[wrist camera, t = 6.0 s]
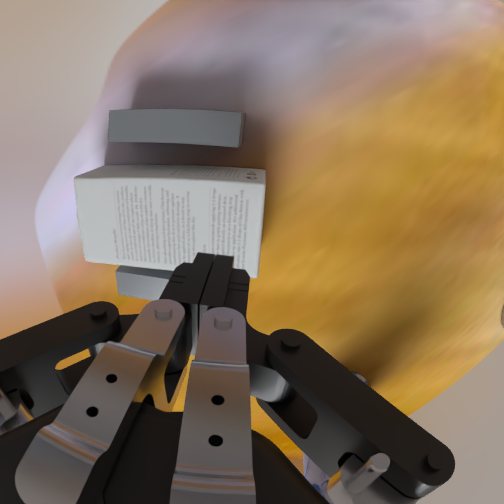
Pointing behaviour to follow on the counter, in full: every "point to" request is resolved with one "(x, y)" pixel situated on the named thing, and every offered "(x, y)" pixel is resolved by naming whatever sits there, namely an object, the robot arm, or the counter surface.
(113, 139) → the charcoal cradle
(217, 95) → the counter surface
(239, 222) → the skincare box
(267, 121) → the counter surface
